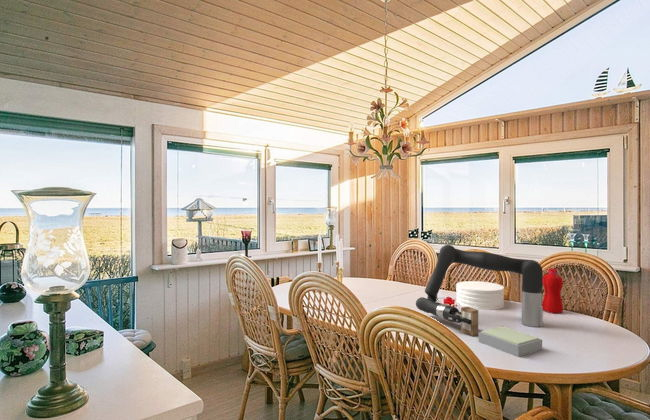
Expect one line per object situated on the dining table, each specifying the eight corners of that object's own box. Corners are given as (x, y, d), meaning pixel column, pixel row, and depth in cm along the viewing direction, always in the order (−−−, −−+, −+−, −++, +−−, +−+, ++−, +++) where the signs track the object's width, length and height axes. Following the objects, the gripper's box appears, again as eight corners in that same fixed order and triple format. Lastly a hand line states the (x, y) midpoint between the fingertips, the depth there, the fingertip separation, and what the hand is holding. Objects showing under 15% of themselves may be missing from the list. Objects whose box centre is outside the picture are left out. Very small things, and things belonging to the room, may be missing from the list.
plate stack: (489, 312, 226) (489, 292, 226) (447, 302, 248) (447, 285, 248) (512, 304, 244) (512, 286, 244) (471, 296, 266) (471, 279, 265)
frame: (478, 334, 187) (478, 309, 187) (472, 336, 185) (472, 311, 185) (466, 330, 194) (466, 306, 193) (460, 331, 192) (460, 307, 191)
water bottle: (552, 315, 220) (553, 270, 220) (539, 309, 231) (540, 267, 230) (567, 314, 221) (568, 270, 221) (554, 309, 232) (554, 267, 232)
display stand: (542, 349, 168) (542, 338, 168) (518, 356, 161) (518, 344, 161) (501, 335, 186) (501, 325, 186) (478, 341, 178) (478, 330, 178)
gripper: (437, 307, 198) (463, 315, 183) (457, 303, 205) (484, 311, 190) (437, 321, 199) (463, 331, 184) (457, 317, 205) (484, 326, 190)
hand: (474, 321), depth 187 cm, fingers closed on frame, 4 cm apart
